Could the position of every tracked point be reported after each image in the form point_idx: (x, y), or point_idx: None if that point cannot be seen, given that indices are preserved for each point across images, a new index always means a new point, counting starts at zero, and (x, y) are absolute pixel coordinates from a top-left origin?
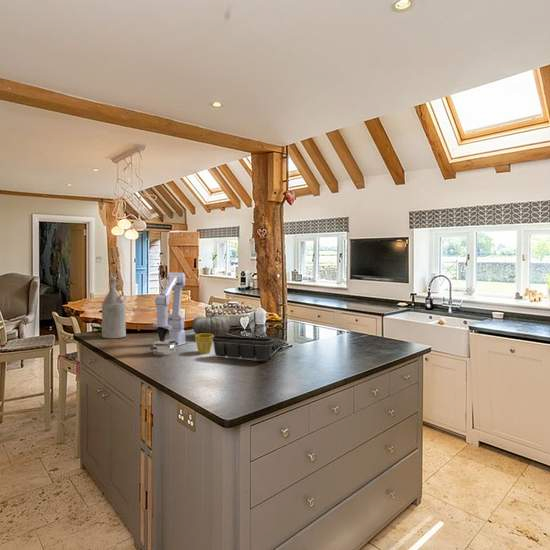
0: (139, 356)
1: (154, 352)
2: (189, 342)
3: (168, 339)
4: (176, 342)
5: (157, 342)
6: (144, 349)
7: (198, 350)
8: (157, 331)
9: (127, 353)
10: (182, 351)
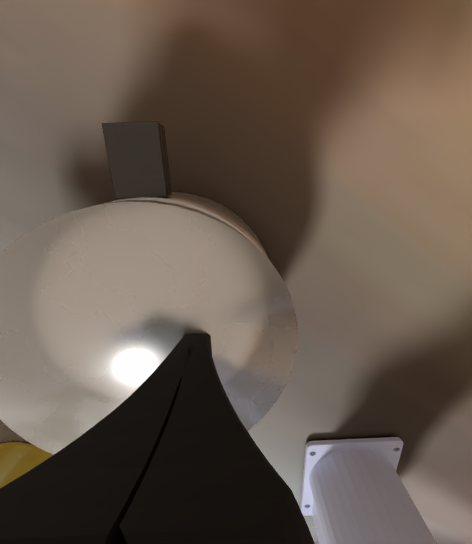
0: (235, 31)
1: (176, 193)
2: (314, 531)
3: None
4: (319, 482)
5: (69, 218)
6: (426, 251)
7: (9, 457)
8: (226, 453)
9: (459, 12)
10: None
